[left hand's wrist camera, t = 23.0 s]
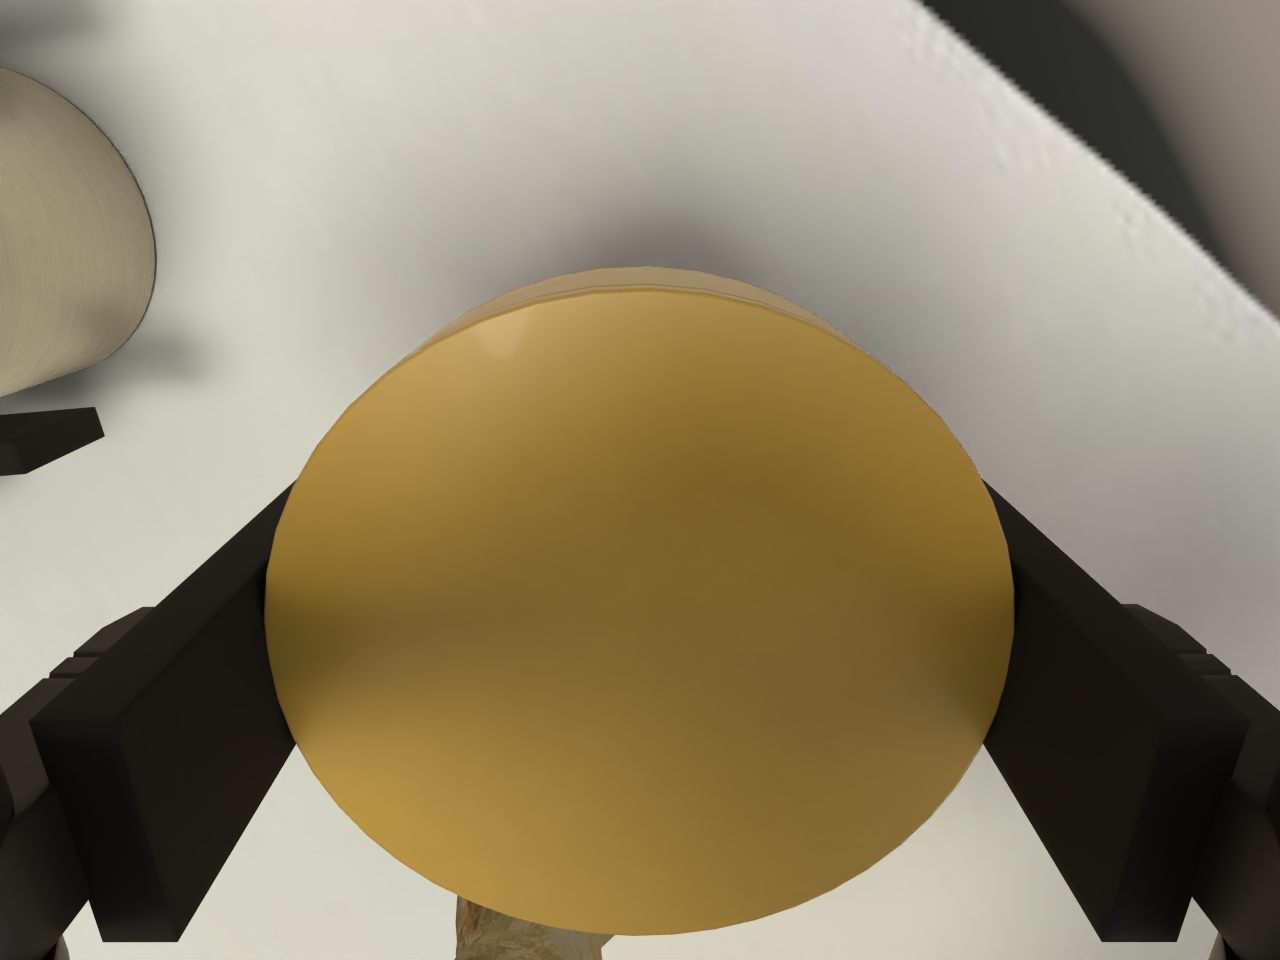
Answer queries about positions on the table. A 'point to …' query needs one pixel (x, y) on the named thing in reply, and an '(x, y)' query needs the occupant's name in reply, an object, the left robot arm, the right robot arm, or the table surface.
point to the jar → (64, 239)
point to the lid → (639, 605)
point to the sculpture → (518, 937)
